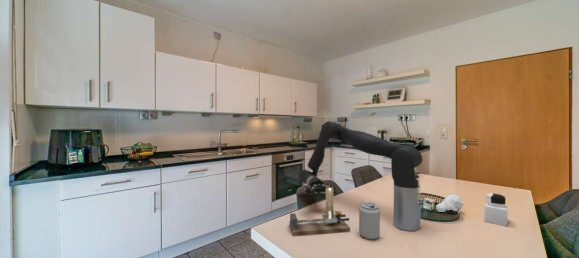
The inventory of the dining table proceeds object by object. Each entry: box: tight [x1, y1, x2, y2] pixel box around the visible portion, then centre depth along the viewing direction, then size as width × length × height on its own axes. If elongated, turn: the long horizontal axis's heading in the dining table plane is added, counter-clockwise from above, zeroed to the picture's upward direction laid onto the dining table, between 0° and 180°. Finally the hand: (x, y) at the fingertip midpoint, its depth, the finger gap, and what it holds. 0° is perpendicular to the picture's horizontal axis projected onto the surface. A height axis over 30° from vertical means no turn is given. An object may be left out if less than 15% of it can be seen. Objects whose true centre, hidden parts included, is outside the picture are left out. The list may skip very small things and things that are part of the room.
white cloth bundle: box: [435, 194, 464, 214], centre depth 107 cm, size 6×8×12 cm
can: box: [358, 201, 381, 241], centre depth 85 cm, size 8×8×12 cm
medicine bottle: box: [483, 192, 508, 227], centre depth 97 cm, size 7×7×12 cm
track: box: [289, 210, 351, 237], centre depth 91 cm, size 23×10×6 cm, turn 99°
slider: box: [321, 187, 350, 223], centre depth 92 cm, size 10×4×14 cm, turn 99°
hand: (324, 194), depth 99 cm, fingers open, 8 cm apart
